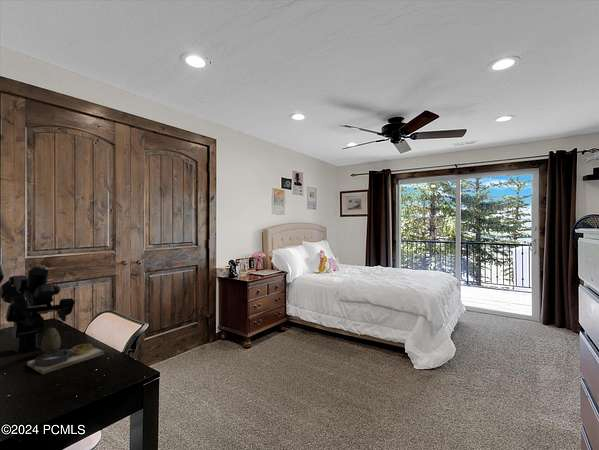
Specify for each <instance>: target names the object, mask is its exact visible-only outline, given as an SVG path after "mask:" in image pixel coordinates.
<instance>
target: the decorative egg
mask: <svg viewBox="0 0 599 450" xmlns="http://www.w3.org/2000/svg"><path fill="white" fill-rule="evenodd" d="M61 344H62V339H61V336H60V333H59V331H58V330H57V328H55V327H50V328H48V329H47V330H46V331H45V333H44V334H43V336H42V339H41V343H40V347H41V348H40V349H41V352H42V354H43V353H47V352H50V351H54V350H60V348H61Z"/></svg>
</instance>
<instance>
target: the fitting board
mask: <svg viewBox="0 0 599 450" xmlns="http://www.w3.org/2000/svg"><path fill="white" fill-rule="evenodd" d="M69 350H70V351H72V348H70V349H69ZM102 355H105V351H104V350H102V349H99V348H97V347H94V346H93V350H92V351H91V352H89V353H86V354H82V355H74V354H72V357H71V358H70V359H69V360H68V361H66V362H63V363H60V364H56V365H53V366H42V367H39V366H37V365H36V364H35V359H31V360H28V361H27V362H26V366H28V367H29V368H31V369H33V370H34V371H36V372H38V374H39V373H40V374H41V375H45V374H48V373H51V372H53V371H54V372H55V371H57V370H60V369H63V368H67V367H69V366H72V365H75V364H79V363H81V362H85V361H88V360H90V359H94V358H96V357H100V356H102ZM58 357H61V356H54V357H51V358H47V359H55V358H58ZM44 360H46V359H44Z"/></svg>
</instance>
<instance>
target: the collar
mask: <svg viewBox="0 0 599 450" xmlns="http://www.w3.org/2000/svg"><path fill="white" fill-rule="evenodd" d="M54 356H61V357H58V358H55V359H47V358H51V357H54ZM71 357H72V351H70V349H68V348H66V349H64V348H63V349H58V350H54V351H50V352H47V353H43V352H42V353H41V354H40V355H38V356H36V357H35V358H34V360H35V364H36V365H37V366H39V367H42V366H53V365H56V364H60V363H63V362H66V361H68V360H69V359H70V358H71ZM44 359H46V360H44Z"/></svg>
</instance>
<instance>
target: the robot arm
mask: <svg viewBox="0 0 599 450" xmlns="http://www.w3.org/2000/svg"><path fill="white" fill-rule="evenodd" d="M48 277H49V269H46V268H40V267H39V266H35V267H34V266H33V267H32V268H31V269H29V270H28V274H27V276H26V275H24V274H21V275H13V276H9V277H8V280H7V281H6V282H4V283H3V284H1V287H0V299H1V300H2V301H3V302H4V303H7V304H10V305H8V306H7V307H8V308H7V310H6V313H5V314H6V315H5V319H6V322H7V323H11V322H12V323H13V326H12V329H11V335H12V337H13V338H15V339H17V348H14V349H13V351H15V352H16V353H18V354H24V353H28V352H31V351H35V350H38V349H41V345H38V334H39V333H43V332H44V330H45V323H46V320H45V318H44V316H42V315H44V314H48V313H53V312H54V313H55V312H57V313H56V314H57V315H58V318H60V320H61V321H62V322H66V319H67V316H69V315H71V314H72V312H73V309H74V306H75V300H74V299H73V298H72V297H71V298H70V297H69V298H61V299H59V300H60V301H59V304H51V303H53V301H54V298H53V297H54V296H55V295H59V293H60V292H61V288H60V286H59V285H58V284H48Z"/></svg>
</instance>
